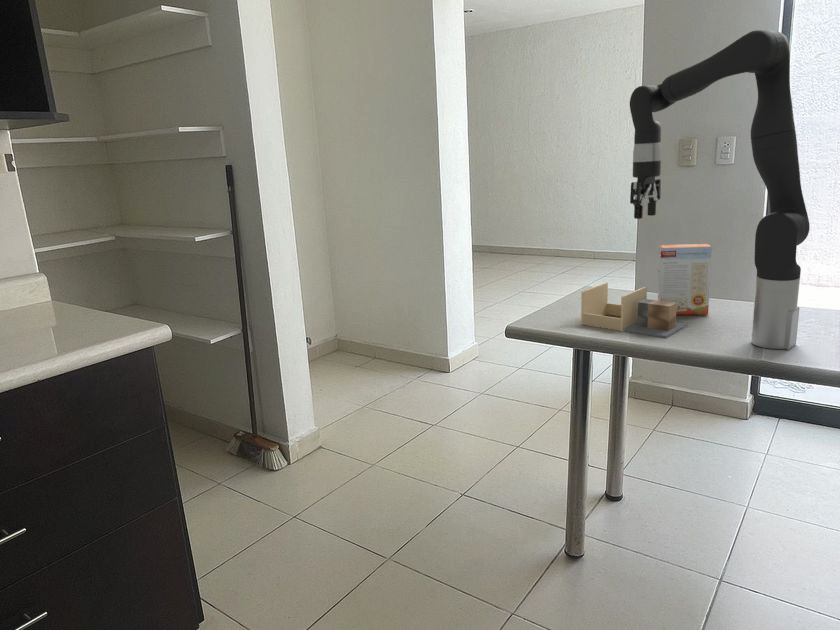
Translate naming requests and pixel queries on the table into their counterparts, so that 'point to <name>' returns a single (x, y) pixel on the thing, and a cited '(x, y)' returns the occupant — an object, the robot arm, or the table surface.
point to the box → (657, 314)
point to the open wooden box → (610, 308)
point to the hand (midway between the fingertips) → (645, 217)
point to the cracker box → (685, 277)
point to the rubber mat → (655, 330)
